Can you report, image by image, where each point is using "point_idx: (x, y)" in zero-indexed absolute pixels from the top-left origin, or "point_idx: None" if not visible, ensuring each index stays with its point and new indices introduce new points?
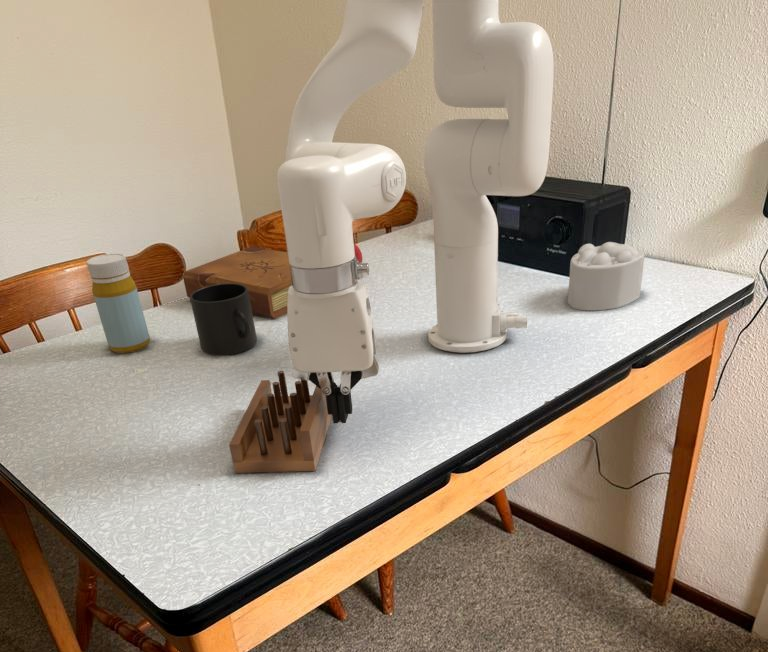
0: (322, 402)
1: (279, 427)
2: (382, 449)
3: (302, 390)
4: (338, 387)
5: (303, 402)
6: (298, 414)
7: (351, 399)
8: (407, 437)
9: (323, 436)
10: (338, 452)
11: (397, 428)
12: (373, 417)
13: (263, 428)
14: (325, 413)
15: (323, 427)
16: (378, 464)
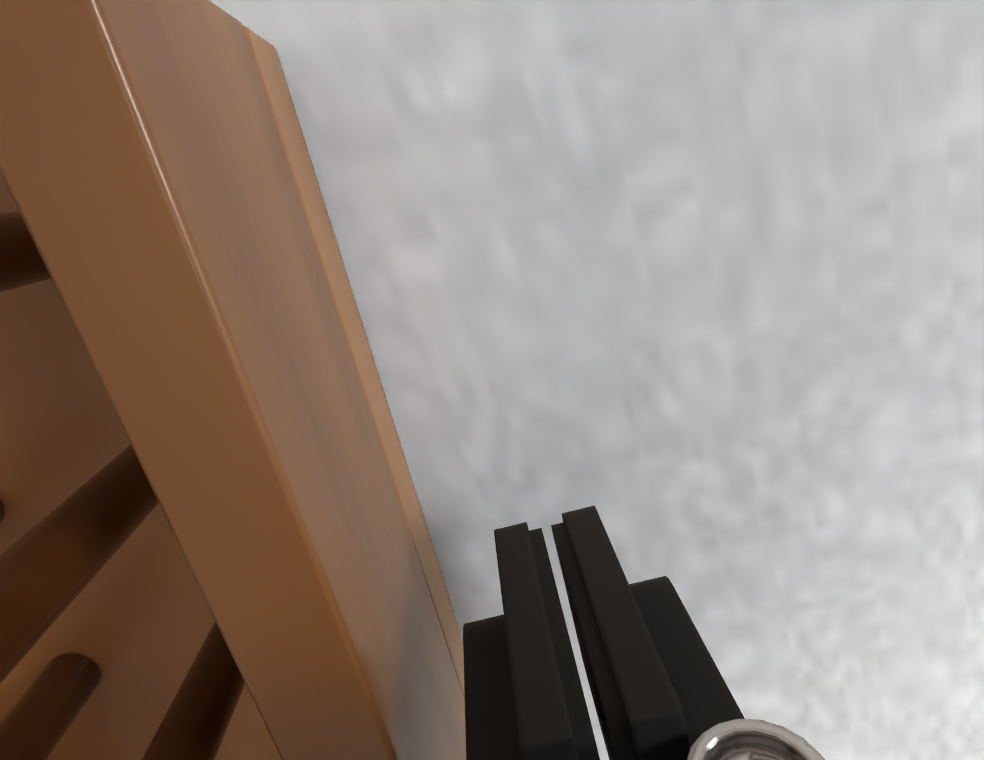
0: (413, 714)
1: (115, 683)
2: (821, 611)
3: (57, 601)
4: (597, 753)
5: (133, 530)
6: (227, 726)
7: (697, 633)
8: (957, 464)
9: (454, 638)
10: (581, 684)
11: (884, 368)
12: (684, 240)
13: (5, 711)
14: (405, 560)
15: (444, 642)
16: (822, 733)
